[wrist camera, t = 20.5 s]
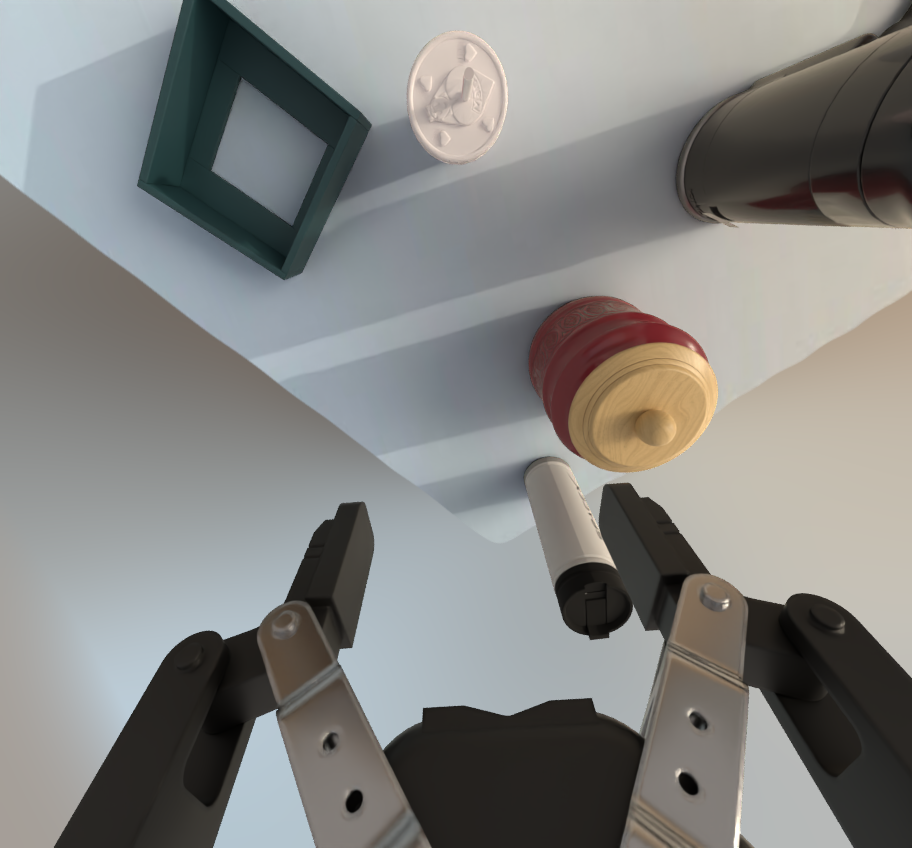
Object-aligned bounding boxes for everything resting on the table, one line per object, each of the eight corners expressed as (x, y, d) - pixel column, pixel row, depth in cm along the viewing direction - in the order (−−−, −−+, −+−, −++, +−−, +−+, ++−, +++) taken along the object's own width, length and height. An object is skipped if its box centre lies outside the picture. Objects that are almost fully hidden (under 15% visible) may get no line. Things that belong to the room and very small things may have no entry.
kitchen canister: (589, 424, 46) (660, 530, 30) (502, 373, 42) (533, 464, 27) (670, 334, 40) (805, 408, 25) (577, 267, 37) (669, 306, 22)
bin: (226, 4, 28) (189, -30, 24) (372, 124, 31) (361, 112, 27) (173, 188, 33) (136, 185, 29) (301, 273, 37) (284, 280, 33)
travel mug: (525, 498, 52) (565, 644, 34) (521, 460, 48) (561, 599, 31) (571, 491, 51) (634, 636, 34) (569, 452, 48) (638, 589, 30)
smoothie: (502, 156, 33) (534, 123, 20) (434, 188, 34) (426, 174, 21) (478, 64, 30) (498, -40, 17) (404, 101, 31) (374, 28, 18)
